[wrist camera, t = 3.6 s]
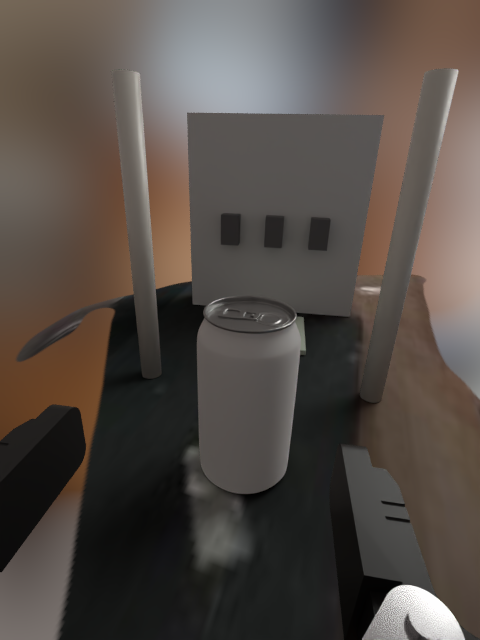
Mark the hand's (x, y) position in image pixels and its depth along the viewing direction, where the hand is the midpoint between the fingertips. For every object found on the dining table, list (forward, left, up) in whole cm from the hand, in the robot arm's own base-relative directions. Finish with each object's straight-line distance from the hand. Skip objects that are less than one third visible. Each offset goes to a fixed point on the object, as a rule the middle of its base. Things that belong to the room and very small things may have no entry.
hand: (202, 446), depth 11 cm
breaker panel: (+25, -36, -12) cm, 45 cm away
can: (+6, -9, -12) cm, 17 cm away
